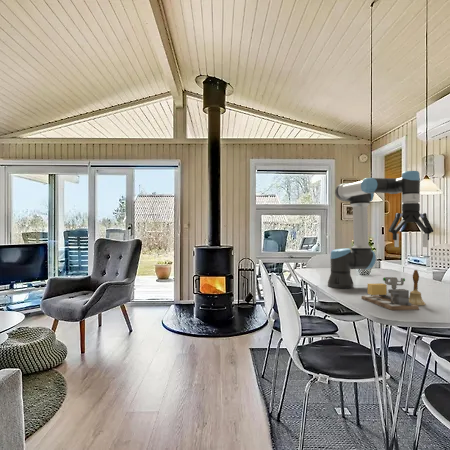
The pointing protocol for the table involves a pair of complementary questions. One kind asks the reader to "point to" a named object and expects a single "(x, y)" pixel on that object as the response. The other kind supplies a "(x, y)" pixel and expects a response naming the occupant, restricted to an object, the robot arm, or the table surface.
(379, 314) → the table surface
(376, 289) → the block
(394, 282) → the mechanical component
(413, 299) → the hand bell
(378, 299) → the board
